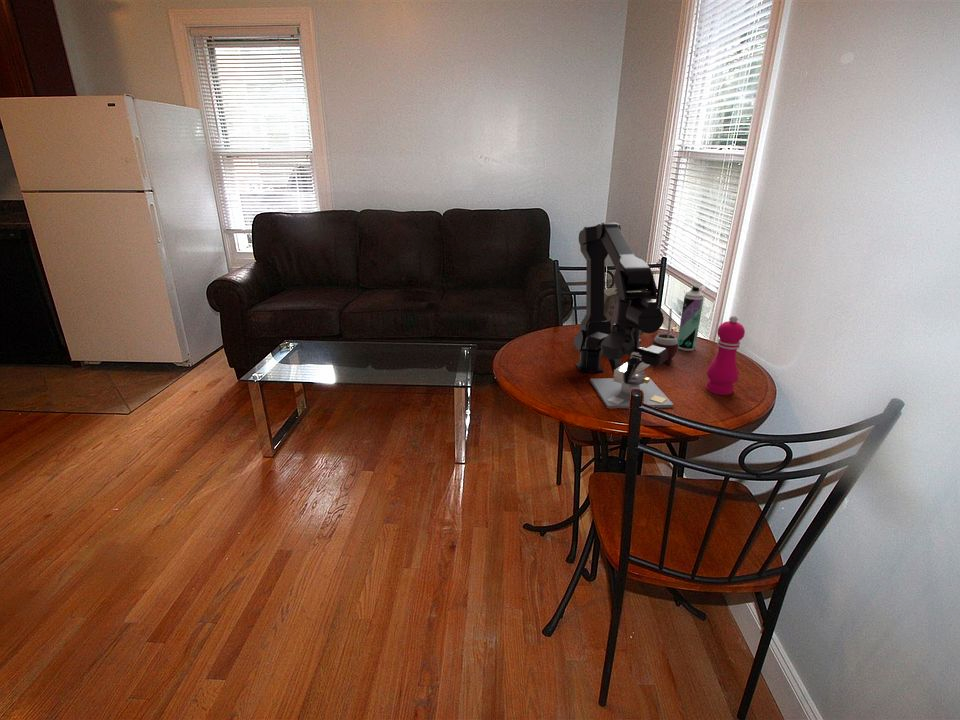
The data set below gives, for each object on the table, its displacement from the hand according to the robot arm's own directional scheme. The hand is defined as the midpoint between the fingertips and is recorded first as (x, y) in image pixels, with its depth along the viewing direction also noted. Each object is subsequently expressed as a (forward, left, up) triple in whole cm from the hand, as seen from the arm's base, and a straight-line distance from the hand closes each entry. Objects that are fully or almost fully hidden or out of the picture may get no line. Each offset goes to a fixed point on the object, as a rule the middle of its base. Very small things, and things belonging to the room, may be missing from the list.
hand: (621, 380), depth 118 cm
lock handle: (-4, +4, -1) cm, 6 cm away
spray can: (-36, +33, -6) cm, 49 cm away
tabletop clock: (-42, +13, -6) cm, 44 cm away
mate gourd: (-25, +21, -6) cm, 33 cm away
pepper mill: (-5, +28, -6) cm, 29 cm away
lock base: (-4, +4, -5) cm, 8 cm away
